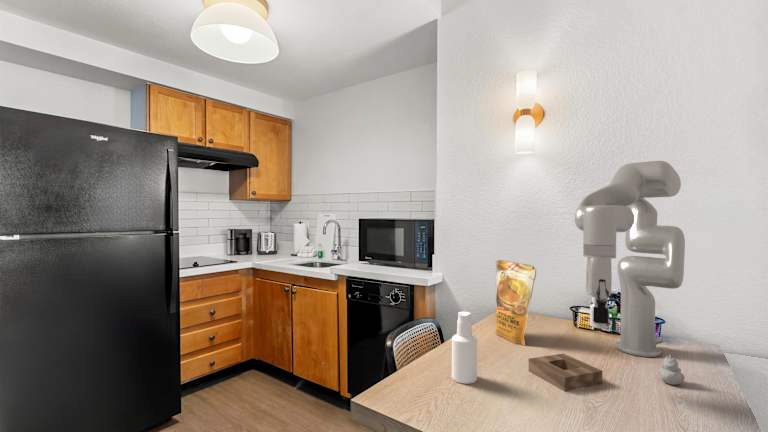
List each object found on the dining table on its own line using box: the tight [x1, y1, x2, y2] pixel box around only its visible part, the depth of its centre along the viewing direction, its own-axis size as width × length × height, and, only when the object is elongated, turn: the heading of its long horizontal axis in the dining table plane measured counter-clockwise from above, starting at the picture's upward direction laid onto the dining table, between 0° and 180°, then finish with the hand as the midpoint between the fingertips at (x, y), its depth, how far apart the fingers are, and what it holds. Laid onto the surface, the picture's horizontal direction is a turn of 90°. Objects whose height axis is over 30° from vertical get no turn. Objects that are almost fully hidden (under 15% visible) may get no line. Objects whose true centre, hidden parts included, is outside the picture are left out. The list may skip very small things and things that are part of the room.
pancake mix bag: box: [494, 259, 537, 346], centre depth 133 cm, size 7×19×28 cm, turn 20°
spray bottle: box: [451, 311, 478, 385], centre depth 99 cm, size 7×7×18 cm
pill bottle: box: [589, 296, 610, 330], centre depth 96 cm, size 4×4×8 cm
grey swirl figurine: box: [658, 354, 685, 386], centre depth 97 cm, size 5×7×8 cm
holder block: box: [528, 353, 603, 392], centre depth 100 cm, size 13×13×4 cm
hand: (599, 319), depth 96 cm, fingers closed on pill bottle, 4 cm apart
